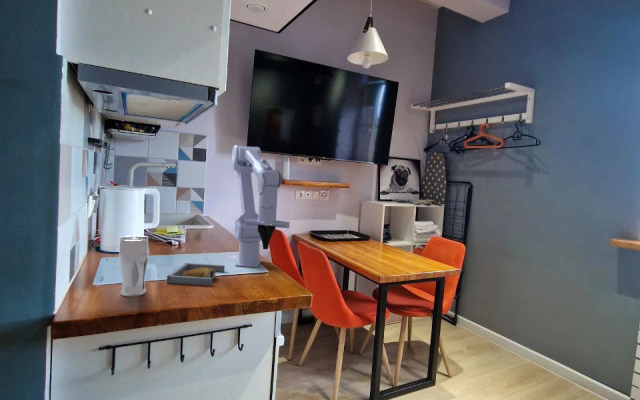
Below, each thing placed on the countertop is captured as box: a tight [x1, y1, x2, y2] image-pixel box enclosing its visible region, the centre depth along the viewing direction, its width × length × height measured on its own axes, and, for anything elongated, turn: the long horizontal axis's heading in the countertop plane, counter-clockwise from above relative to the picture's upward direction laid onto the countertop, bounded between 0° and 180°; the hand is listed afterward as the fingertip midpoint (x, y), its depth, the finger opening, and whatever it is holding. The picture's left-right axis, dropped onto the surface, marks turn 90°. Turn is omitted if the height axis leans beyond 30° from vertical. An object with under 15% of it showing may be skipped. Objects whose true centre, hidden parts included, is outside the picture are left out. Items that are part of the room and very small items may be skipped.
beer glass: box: [118, 235, 150, 298], centre depth 97 cm, size 7×7×15 cm
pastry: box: [182, 268, 216, 280], centre depth 113 cm, size 9×7×4 cm
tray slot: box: [166, 262, 225, 287], centre depth 115 cm, size 15×13×2 cm
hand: (265, 248), depth 118 cm, fingers closed
